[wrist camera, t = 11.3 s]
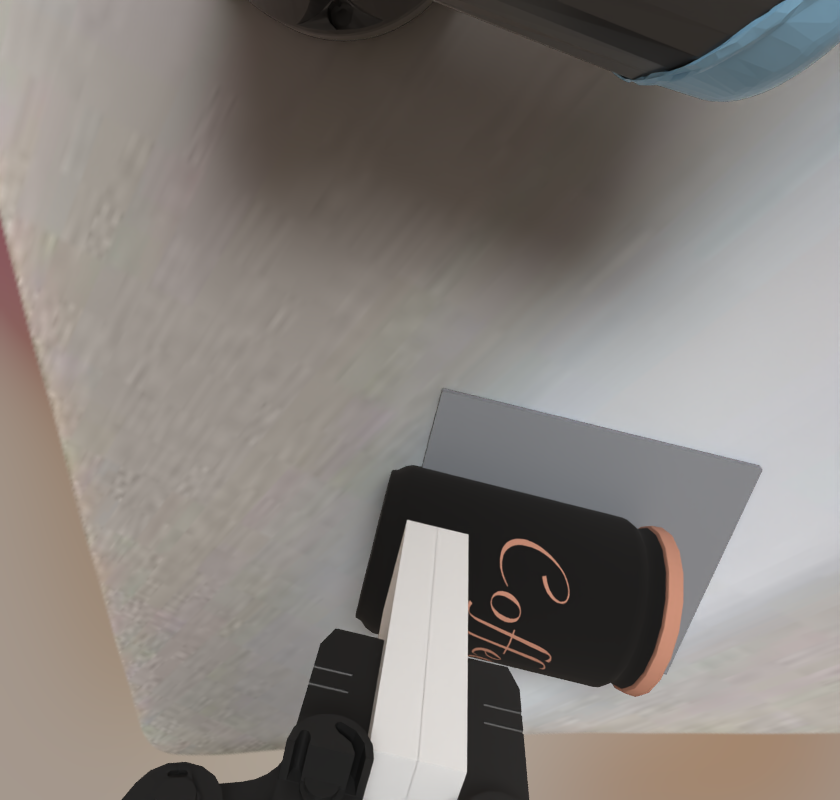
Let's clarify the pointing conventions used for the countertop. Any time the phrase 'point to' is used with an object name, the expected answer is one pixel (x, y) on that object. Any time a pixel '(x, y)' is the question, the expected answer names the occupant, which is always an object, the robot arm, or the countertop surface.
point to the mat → (599, 476)
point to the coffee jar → (542, 580)
